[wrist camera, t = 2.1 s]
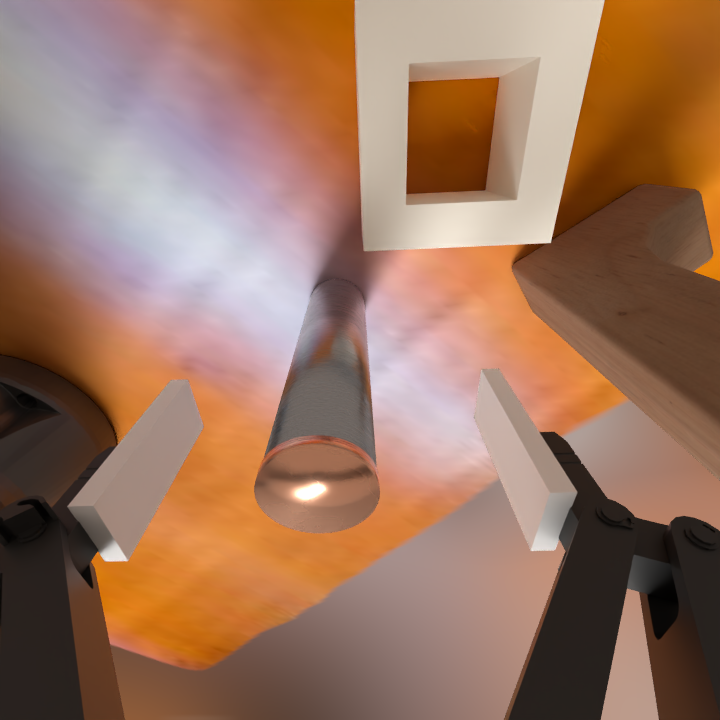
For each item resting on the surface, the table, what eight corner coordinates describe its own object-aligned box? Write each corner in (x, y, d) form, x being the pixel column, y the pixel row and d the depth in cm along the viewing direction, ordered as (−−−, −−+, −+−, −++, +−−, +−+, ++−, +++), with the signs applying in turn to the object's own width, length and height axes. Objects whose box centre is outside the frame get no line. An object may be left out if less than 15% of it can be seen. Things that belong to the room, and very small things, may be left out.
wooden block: (642, 180, 22) (1307, 250, 7) (659, 240, 24) (1210, 404, 9) (507, 265, 25) (765, 458, 9) (532, 313, 27) (781, 541, 11)
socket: (361, 232, 24) (363, 251, 19) (354, 30, 18) (354, -5, 14) (514, 225, 23) (550, 242, 19) (548, 21, 18) (608, -19, 14)
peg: (312, 332, 27) (266, 535, 13) (305, 279, 25) (242, 451, 11) (366, 329, 27) (380, 530, 13) (364, 276, 25) (378, 446, 11)
